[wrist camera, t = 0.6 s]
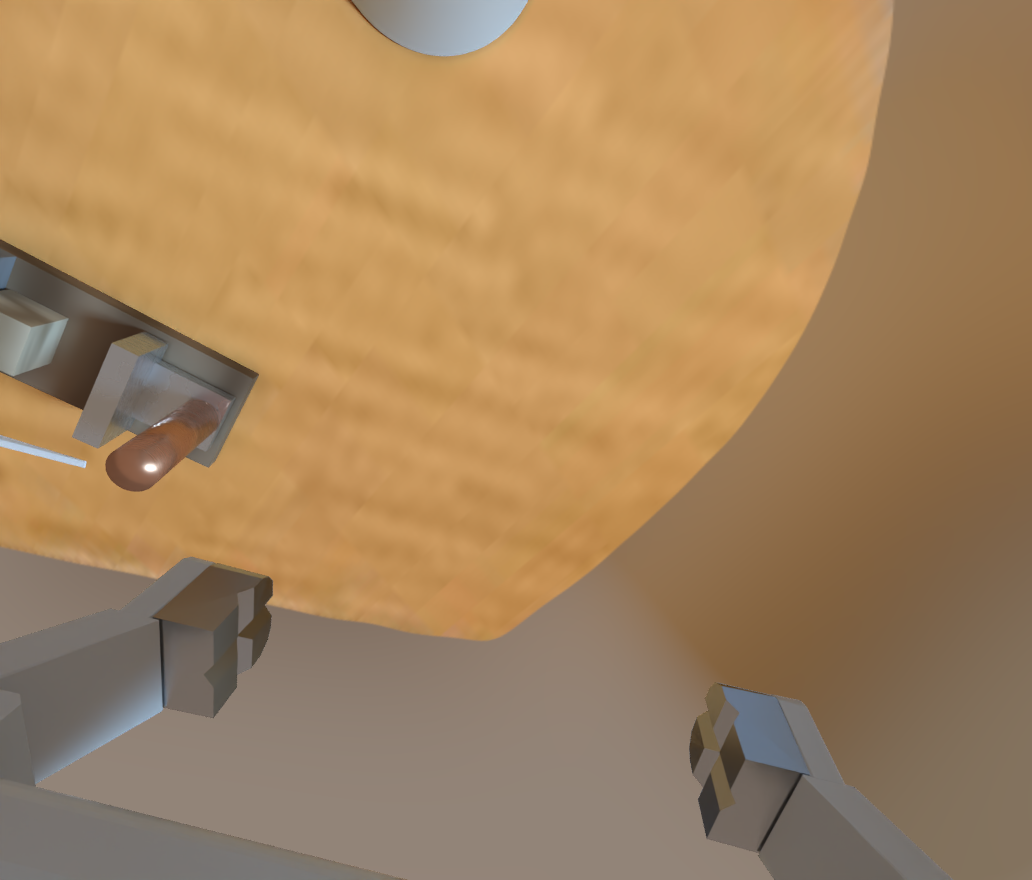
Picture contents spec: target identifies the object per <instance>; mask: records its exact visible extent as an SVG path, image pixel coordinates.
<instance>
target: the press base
mask: <svg viewBox="0 0 1032 880" xmlns="http://www.w3.org/2000/svg"><path fill="white" fill-rule="evenodd" d="M9 289H11V290H13V291H15V292H17V293H19V294H21V295H23V296H25V297H27V298H29V299H31V300H33V301H35V302H37V303H39V304H41V305H43V306H45V307H47V308H49V309H51V310H53V311H55V312H57V313H59V314H61V315H63V316H65V317H67V318H69V319H68V321H67V324H66V326H65V329H64V331H63V334H62V336H61V339H60V341H59V344H58V346H57V349H56V351H55V354H54V357H53V359H52V362H51V363H50V364H47V365H44V366H41V367H39V368H36V369H33V370H30V371H27V372H24V373H21V374H18V375H15V376H11V375H9V374H7V373H5V372H3V371H0V372H1V373H4V374H6V375H8V376H10V377H12V378H15V379H17V380H19V381H21V382H23V383H25V384H28V385H30V386H32V387H34V388H36V389H38V390H41V391H43V392H45V393H47V394H49V395H52V396H54V397H56V398H58V399H60V400H62V401H65V402H67V403H69V404H71V405H73V406H75V407H78V408H80V409H82V410H84V407H85V405H86V403H87V400H88V398H89V396H90V393H91V391H92V388H93V386H94V384H95V381H96V379H97V377H98V374H99V372H100V370H101V367H102V365H103V362H104V360H105V358H106V355H107V353H108V351H109V348H110V346H111V344H112V343H113V342H116V341H119V340H122V339H125V338H128V337H130V336H133V335H136V334H139V333H142V332H147V333H149V334H151V335H153V336H155V337H157V338H159V339H161V340H162V341H164V342H166V343H168V347H167V349H166V351H165V353H164V355H163V358H162V361H164V362H166V363H168V364H170V365H172V366H174V367H176V368H178V369H180V370H182V371H184V372H186V373H188V374H190V375H192V376H194V377H196V378H198V379H200V380H202V381H204V382H206V383H208V384H210V385H212V386H214V387H216V388H218V389H220V390H222V391H224V392H226V393H228V394H230V395H232V396H234V397H236V398H235V400H234V402H233V404H232V406H231V408H230V410H229V412H228V414H227V416H226V418H225V420H224V422H223V424H222V426H221V428H220V430H219V432H218V434H217V436H216V438H215V440H214V442H213V444H212V446H211V447H210V448H209V449H208V450H207V451H206V452H205V451H203V450H201V449H199V448H197V447H196V448H195V449H194V450H193V451H192V452H190V453H189V454H188V455H187V456H186V457H187V458H189V459H191V460H193V461H195V462H197V463H200V464H202V465H204V466H206V467H208V468H209V467H210V466H211V465H212V463H213V462H214V461H215V460H216V458H217V456H218V454H219V452H220V450H221V448H222V447H223V445H224V443H225V441H226V439H227V437H228V435H229V433H230V431H231V429H232V427H233V425H234V423H235V421H236V419H237V417H238V415H239V413H240V411H241V409H242V407H243V405H244V403H245V401H246V399H247V397H248V395H249V393H250V391H251V389H252V387H253V385H254V383H255V381H256V380H257V378H258V376H259V374H257V373H256V372H254V371H252V370H250V369H248V368H246V367H244V366H242V365H240V364H238V363H236V362H234V361H233V360H231V359H229V358H227V357H225V356H223V355H221V354H219V353H217V352H215V351H213V350H211V349H209V348H208V347H206V346H204V345H202V344H200V343H198V342H196V341H194V340H192V339H190V338H188V337H186V336H185V335H183V334H181V333H179V332H177V331H175V330H173V329H171V328H169V327H167V326H165V325H163V324H161V323H160V322H158V321H156V320H154V319H152V318H150V317H148V316H146V315H144V314H142V313H140V312H138V311H137V310H135V309H133V308H131V307H129V306H127V305H125V304H123V303H121V302H119V301H117V300H115V299H114V298H112V297H110V296H108V295H106V294H104V293H102V292H100V291H98V290H96V289H94V288H92V287H90V286H89V285H87V284H85V283H83V282H81V281H79V280H77V279H75V278H73V277H71V276H69V275H67V274H66V273H64V272H62V271H60V270H58V269H56V268H54V267H52V266H50V265H48V264H46V263H44V262H42V261H41V260H39V259H37V258H35V257H33V256H31V255H29V254H27V253H25V252H23V251H21V250H19V249H18V248H16V247H14V246H12V245H10V244H8V243H6V242H4V241H2V240H0V291H2V290H9ZM149 427H150V425H148V424H146V423H143V422H141V421H139V420H137V419H135V420H134V422H133V424H132V426H131V428H130V429H128V431H130V432H132V433H134V434H136V435H138V434H140V433H141V432H143V431H144V430H146V429H147V428H149Z"/></svg>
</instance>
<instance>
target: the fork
mask: <svg viewBox="0 0 1032 880" xmlns="http://www.w3.org/2000/svg"><path fill="white" fill-rule="evenodd" d="M0 446H1V447H5V448H9V449H13V450H17V451H20V452H24V453H28V454H32V455H36V456H40V457H44V458H48V459H52V460H55V461H59V462H63V463H67V464H71V465H75V466H79V467H83V468H85V467H86V461H84V460H81V459H77V458H74V457H71V456H67V455H64V454H61V453H57V452H54V451H51V450H47V449H44V448H41V447H38V446H34V445H31V444H28V443H25V442H21V441H18V440H15V439H12V438H8V437H5V436H2V435H0Z"/></svg>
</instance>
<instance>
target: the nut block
mask: <svg viewBox="0 0 1032 880" xmlns="http://www.w3.org/2000/svg"><path fill="white" fill-rule="evenodd" d="M68 319H69V318H67V317H65V316H63V315H61V314H59V313H57V312H55V311H53V310H51V309H49V308H47V307H45V306H43V305H41V304H39V303H37V302H35V301H33V300H31V299H29V298H27V297H25V296H23V295H21V294H19V293H17V292H15V291H13V290H11V289H9V290H2V291H0V371H3V372H5V373H7V374H9V375H11V376H15V375H18V374H21V373H24V372H27V371H30V370H33V369H36V368H39V367H41V366H44V365H47V364H50V363H51V362H52V359H53V357H54V354H55V351H56V349H57V346H58V344H59V341H60V339H61V336H62V334H63V331H64V329H65V326H66V324H67V321H68Z"/></svg>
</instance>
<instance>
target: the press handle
mask: <svg viewBox="0 0 1032 880" xmlns="http://www.w3.org/2000/svg"><path fill="white" fill-rule="evenodd" d="M167 347H168V343H166V342H164V341H162V340H161V339H159V338H157V337H155V336H153V335H151V334H149V333H147V332H142V333H139V334H136V335H133V336H130V337H128V338H125V339H122V340H119V341H116V342H113V343H112V344H111V346H110V348H109V351H108V353H107V355H106V358H105V360H104V362H103V365H102V367H101V370H100V372H99V374H98V377H97V379H96V381H95V384H94V386H93V388H92V391H91V393H90V396H89V398H88V400H87V403H86V405H85V407H84V410H83V412H82V415H81V417H80V419H79V422H78V424H77V426H76V429H75V431H74V433H73V436H72V437H73V438H75V439H77V440H80V441H82V442H84V443H86V444H89V445H91V446H93V447H95V448H100V447H102V446H103V445H105V444H106V443H108V442H109V441H111V440H113V439H114V438H116V437H117V436H119V435H120V434H122V433H124V432H125V431H127V430H128V429H130V428H131V426H132V424H133V422H134V420H135V419H137V420H139V421H141V422H143V423H146V424H148V425H150V427H149V428H147V429H146V430H144V431H143V432H141V433H140V434H138V435H137V436H136V437H134V438H133V439H131V440H130V441H128V442H127V443H125V444H124V445H122V446H121V447H119V448H118V449H116V450H115V451H113V452H112V453H111V454H110V455H109V456H108V458H107V460H106V472H107V474H108V476H109V478H110V479H111V480H112V481H113V482H114V483H115V484H116V485H117V486H119V487H121V488H123V489H125V490H129V491H136V492H137V491H144V490H147V489H149V488H150V487H152V486H153V485H154V484H155V483H156V482H157V481H159V480H160V479H161V478H162V477H163V476H164V475H165V474H167V473H168V472H169V471H170V470H171V469H172V468H173V467H175V466H176V465H177V464H178V463H179V462H180V461H181V460H183V459H184V458H185V457H186V456H187V455H188V454H189V453H190V452H192V451H193V450H194V449H195V448H196V447H197V448H199V449H201V450H203V451H205V452H206V451H207V450H208V449H209V448H210V447H211V446H212V444H213V442H214V440H215V438H216V436H217V434H218V432H219V430H220V428H221V426H222V424H223V422H224V420H225V418H226V416H227V414H228V412H229V410H230V408H231V406H232V404H233V402H234V400H235V398H236V397H234V396H232V395H230V394H228V393H226V392H224V391H222V390H220V389H218V388H216V387H214V386H212V385H210V384H208V383H206V382H204V381H202V380H200V379H198V378H196V377H194V376H192V375H190V374H188V373H186V372H184V371H182V370H180V369H178V368H176V367H174V366H172V365H170V364H168V363H166V362H164V361H162V358H163V355H164V353H165V351H166V349H167Z"/></svg>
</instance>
